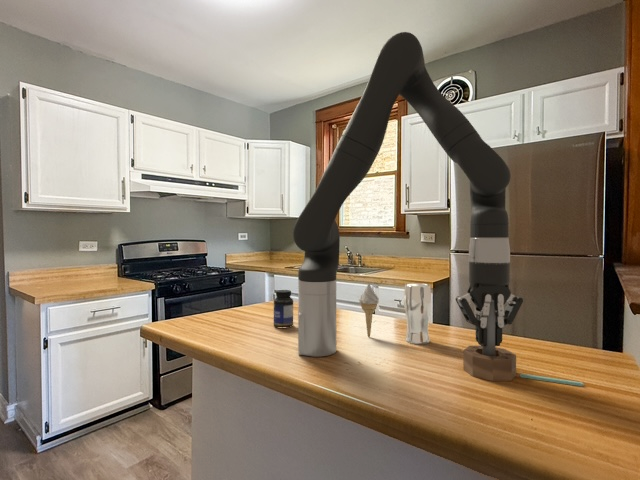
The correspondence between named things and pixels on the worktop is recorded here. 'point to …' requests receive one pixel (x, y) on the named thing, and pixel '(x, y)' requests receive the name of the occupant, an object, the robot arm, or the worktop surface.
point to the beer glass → (417, 312)
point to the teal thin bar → (551, 379)
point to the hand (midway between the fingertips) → (489, 344)
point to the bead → (489, 364)
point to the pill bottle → (283, 309)
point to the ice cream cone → (368, 305)
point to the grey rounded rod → (490, 333)
